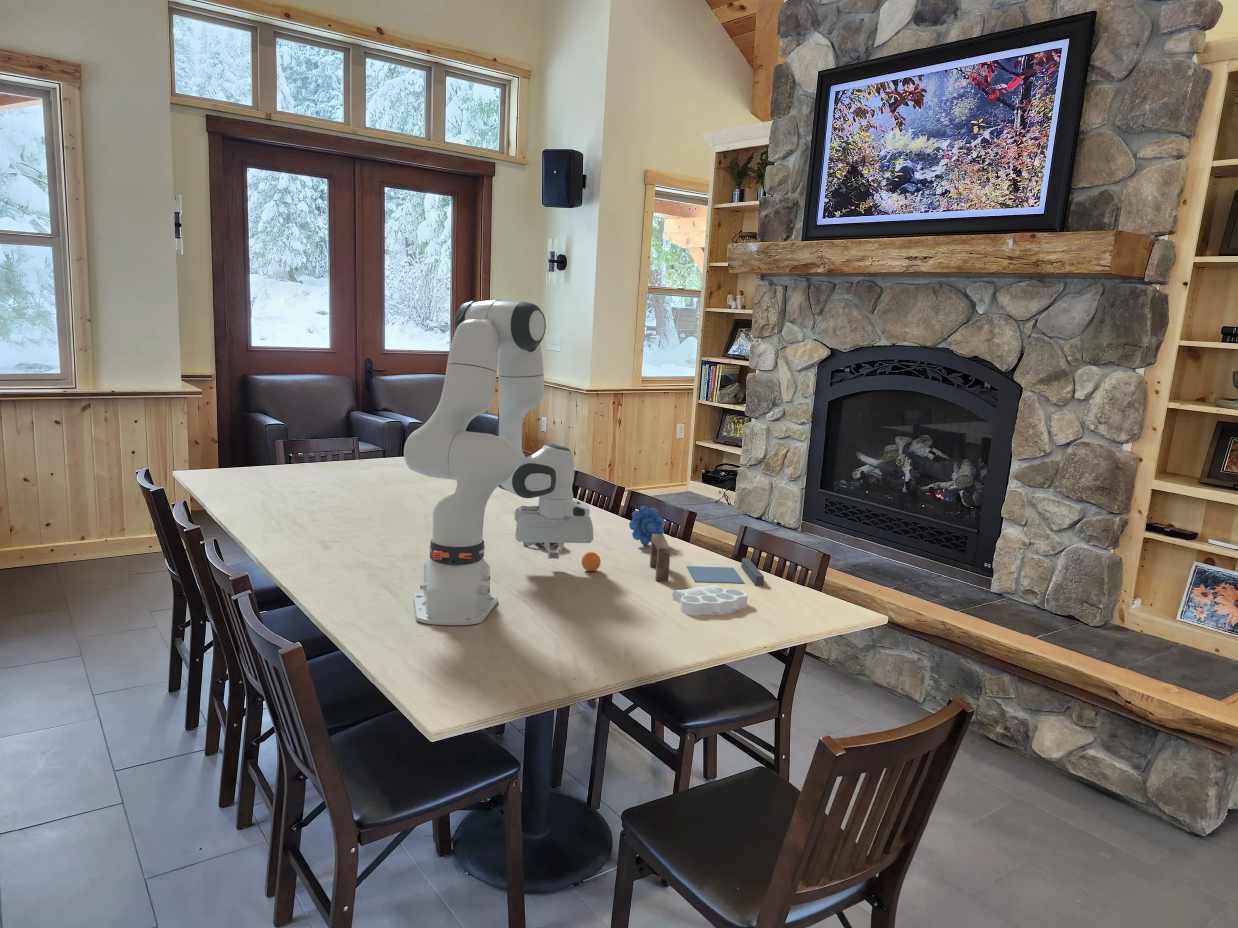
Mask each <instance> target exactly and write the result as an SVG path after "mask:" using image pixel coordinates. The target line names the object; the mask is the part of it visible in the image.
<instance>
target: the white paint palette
mask: <svg viewBox="0 0 1238 928" xmlns="http://www.w3.org/2000/svg"><path fill="white" fill-rule="evenodd" d="M748 597H749V596H748V593H747V592H746V591H744V590H741V589H736V588H723V587H721V586H719V585H716V584H711V585H709V586H701V587H698V586H695V587H693V588H686V589H676V590H674V591H672V598H673V600H674V601H675V602H677V603H679V604H680V605H679V606H680V607H679V611H680V612H681V613H682V614H684V615H687V616H693V617H699V616H704V615H706V616H721V615H724V614H733V613H735V612H737V611H738V610H741V609H746V608H747V607H748Z"/></svg>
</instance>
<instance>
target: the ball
mask: <svg viewBox="0 0 1238 928" xmlns="http://www.w3.org/2000/svg"><path fill="white" fill-rule="evenodd" d="M601 564H602V563H601V558H600V555H598V553H596V552H594V551H589V552H586V553H584V555H583V556H582V557H581V565H582V568H583V569H584V570H585V571H588V572H594V571H596V570H598V569H599V568H600V566H601Z"/></svg>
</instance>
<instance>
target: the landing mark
mask: <svg viewBox="0 0 1238 928" xmlns="http://www.w3.org/2000/svg"><path fill="white" fill-rule="evenodd" d="M686 569H687V570H688V572H689V573H690V576H691V578H692V579H693V581H694V582H695V583H714V584H715V583H718V584H719V583H720V584H745V581H744V580H743V578H742V577H741V576H740V575H739V573H738V572H737V570H736V569H735V568H734V567H727V566H726V567H725V566H722V567H721V566H698V565H697V566H696V565H695V566H694V565H693V566H692V565H686Z"/></svg>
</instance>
